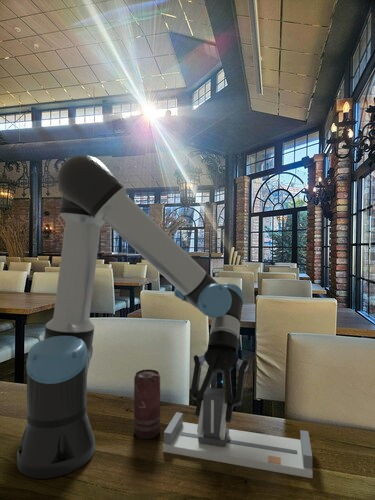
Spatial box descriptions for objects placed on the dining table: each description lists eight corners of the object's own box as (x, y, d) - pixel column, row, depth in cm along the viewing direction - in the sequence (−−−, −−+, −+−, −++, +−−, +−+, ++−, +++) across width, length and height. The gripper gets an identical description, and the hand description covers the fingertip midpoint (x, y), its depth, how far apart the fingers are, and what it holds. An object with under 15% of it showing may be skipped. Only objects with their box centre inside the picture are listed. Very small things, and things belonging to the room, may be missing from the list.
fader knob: (198, 442, 71) (198, 394, 71) (203, 429, 76) (203, 385, 76) (225, 446, 69) (226, 398, 69) (229, 433, 74) (229, 388, 74)
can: (156, 441, 74) (157, 379, 74) (130, 437, 75) (130, 376, 75) (164, 427, 80) (164, 369, 80) (139, 424, 81) (139, 367, 81)
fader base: (163, 451, 70) (163, 433, 70) (176, 427, 80) (177, 411, 80) (312, 478, 62) (312, 457, 62) (307, 447, 72) (308, 430, 72)
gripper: (258, 347, 85) (253, 448, 69) (194, 341, 90) (175, 435, 74) (257, 331, 80) (251, 436, 64) (189, 326, 84) (167, 423, 69)
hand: (210, 435), depth 69 cm, fingers closed on fader knob, 4 cm apart
